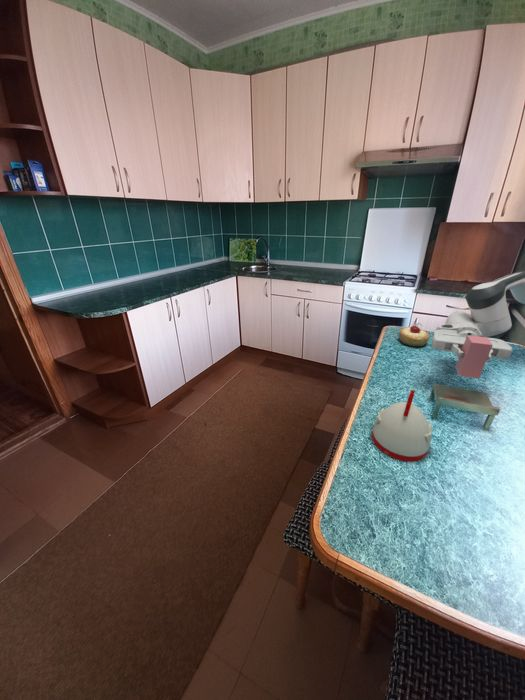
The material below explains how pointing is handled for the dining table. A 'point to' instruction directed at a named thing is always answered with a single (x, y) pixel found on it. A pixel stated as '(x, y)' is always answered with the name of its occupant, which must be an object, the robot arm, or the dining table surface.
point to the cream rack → (463, 401)
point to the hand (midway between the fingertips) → (474, 356)
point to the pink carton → (473, 356)
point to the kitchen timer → (402, 431)
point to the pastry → (414, 336)
